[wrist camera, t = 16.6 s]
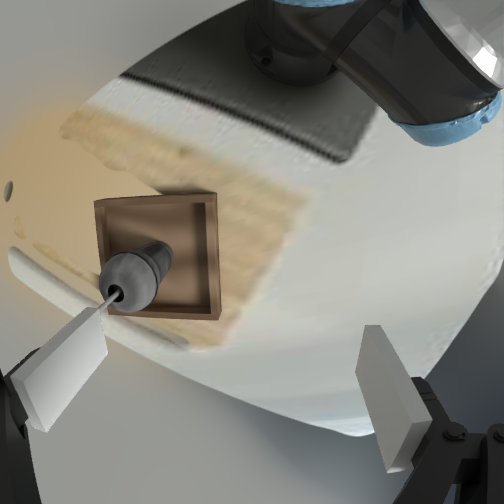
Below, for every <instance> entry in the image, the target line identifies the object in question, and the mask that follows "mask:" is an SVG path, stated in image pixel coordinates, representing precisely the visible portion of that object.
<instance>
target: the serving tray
mask: <svg viewBox="0 0 504 504" xmlns="http://www.w3.org/2000/svg"><path fill="white" fill-rule="evenodd" d="M94 208H95V220H96V231H97V240H98V248H99V257H100V264H101V271H102V269H103V267H104V265H105V264H106V263H107V261H108V260H109V259H110V258H111V257H112V256H113V255H114V254H117V253H119V252H124V251H132V250H134V249H137V248H139V247H142V246H144V245H147V244H149V243H152V242H156V241H162V242H165V243H167V244H168V245H169V246H170V247H171V248H172V250H173V253H174V261H173V263H172V265H171V267H170V269H169V271H168V272H167V274H166V275H165V277H164V279H163V280H162V282H161V283H160V285H159V288H158V291H157V295H156V297H155V299H154V301H153V302H152V303H151V304H150V305H148V306H147V307H145V308H143V309H142V310H139V311H136V312H132V313H126V312H120V311H117V310H115V309H113V308H112V307H111V306H109V305H108V306H107V308H108V313H109V315H122V316H136V317H151V318H169V319H191V320H219V317H220V314H221V311H222V309H221V290H220V269H219V245H218V218H217V193H198V194H173V195H153V196H136V197H120V198H107V199H101V200H96V201H94Z"/></svg>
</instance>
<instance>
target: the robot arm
mask: <svg viewBox="0 0 504 504" xmlns="http://www.w3.org/2000/svg"><path fill="white" fill-rule="evenodd" d="M254 7H255V10H254V11H253V13H252V14H251V16H250V17H249V19H248V22H247V25H246V29H245V41H246V46H247V50H248V53H249V55H250V57H251V59H252V61H253V62H254V64H255V65H256V66H257V67H258V68H259V69H260V70H261V71H262V72H263V73H265V74H266V75H268V76H269V77H271V78H273V79H275V80H277V81H279V82H282V83H285V84H290V85H297V86H308V85H314V84H318V83H321V82H324V81H326V80H328V79H330V78H332V77H333V76H334V75H336V74H337V73H338V72H339V71H341V72H342V73H344V74H345V75H346V76H347V77H348V78H349V79H351V80H352V81H353V82H354V83H355V84H356V85H357V86H358V87H360V88H361V89H362V90H363V91H364V92H365V93H366V94H367V95H368V96H369V97H371V98H372V99H373V100H374V101H375V102H376V103H377V104H378V105H379V106H380V107H381V108H382V109H383V110H384V111H385V112H386V113H387V114H388V117H389V118H390V120H391V121H392V122H393V123H395V124H396V125H398V126H400V127H401V128H402V129H403V130H404V131H405V132H406V133H407V134H408V135H409V136H410V137H411V138H412V139H414V140H415V141H417V142H418V143H420V144H423V145H425V146H431V147H438V146H445V145H449V144H453V143H456V142H459V141H461V140H463V139H465V138H467V137H469V136H471V135H473V134H474V133H476V132H477V131H479V130H480V129H481V125H482V124H485V123H488V122H490V121H491V120H492V119H493V118H494V117H495V115H496V114H497V112H498V111H499V109H500V107H501V101H502V97H501V94H500V90H501V89H503V88H504V0H254ZM107 354H108V351H107V346H106V342H105V337H104V332H103V327H102V321H101V316H100V310H99V308H91V307H87V308H86V309H84V310H83V311H82V312H81V313H80V314H79V315H77V316H76V317H75V318H74V319H73V320H72V321H71V322H69V323H68V324H67V325H66V326H65V327H64V328H62V329H61V330H60V331H59V332H58V333H57V334H56V335H55V336H53V337H52V338H51V339H50V340H49V341H48V342H47V343H46V344H44V345H43V346H42V347H40V348H38V349H36V350H34V351H32V352H30V353H29V354H28V355H27V356H26V357H25V359H23V360H21V362H20V364H19V363H18V364H17V365H16V366H15V367H14V368H13V369H12V370H11V371H10V372H8V373H7V375H5V376H4V377H3V375H2V372H1V370H0V504H42V503H41V499H40V495H39V491H38V487H37V483H36V478H35V473H34V468H33V462H32V457H31V451H30V444H29V439H28V430H27V427H26V424H25V421H26V420H27V419H28V418H29V420H30V422H31V424H32V426H33V428H36V429H38V430H41V431H43V432H45V433H47V432H48V430H49V429H50V428H51V426H52V425H53V424H54V422H55V421H56V420H57V418H58V417H59V416H60V414H61V413H62V412H63V410H64V409H65V408H66V406H67V405H68V404H69V403H70V401H71V400H72V399H73V397H74V396H75V395H76V393H77V392H78V391H79V389H80V388H81V387H82V386H83V384H84V383H85V382H86V381H87V379H88V378H89V377H90V375H91V374H92V373H93V372H94V370H95V369H96V368H97V367H98V365H99V364H100V363H101V362H102V360H103V359H104V358H105V357H106V355H107ZM355 373H356V376H357V379H358V382H359V385H360V388H361V391H362V394H363V397H364V400H365V403H366V406H367V409H368V412H369V415H370V418H371V421H372V425H373V428H374V431H375V434H376V437H377V441H378V444H379V447H380V451H381V454H382V457H383V461H384V464H385V468H386V471H387V473H391V472H397V471H403V470H406V469H407V467H408V466H409V464H410V462H411V461H412V464H413V466H414V470H413V472H412V473H411V475H410V476H409V478H408V479H407V481H406V483H405V485H404V487H403V488H402V490H401V492H400V493H399V494H398V496H397V498H396V499H395V501H394V502H393V504H443V502H444V500H445V498H446V496H447V494H448V491H449V489H450V487H451V485H452V484H456V493H455V500H454V504H504V424H501V423H500V424H494V425H491V426H490V428H489V429H488V430H487V432H486V433H485V434H478V433H468V431H467V429H466V428H464V426H463V425H461V424H459V423H456V422H451V421H450V419H449V417H448V415H447V414H446V412H445V410H444V408H443V407H442V405H441V403H440V402H439V400H437V396H436V395H435V393H433V390H432V388H431V386H430V385H429V383H428V382H426V381H425V380H424V379H423V378H421V377H412V378H410V376H409V375H408V373H407V371H406V369H405V367H404V366H403V364H402V362H401V360H400V359H399V357H398V355H397V353H396V352H395V350H394V348H393V346H392V345H391V343H390V341H389V339H388V338H387V336H386V334H385V333H384V331H383V329H382V328H381V326H380V325H365V328H364V333H363V338H362V343H361V348H360V353H359V357H358V362H357V366H356V371H355Z"/></svg>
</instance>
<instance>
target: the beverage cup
mask: <svg viewBox="0 0 504 504" xmlns="http://www.w3.org/2000/svg"><path fill="white" fill-rule="evenodd" d="M173 261H174V253H173V250H172V248H171V247H170V246H169V245H168V244H167V243H165V242H162V241H156V242H152V243H149V244H147V245H144V246H142V247H139V248H137V249H134V250H132V251H124V252H119V253H117V254H114V255H113V256H112V257H111V258H110V259H109V260H108V261H107V263H106V264H105V265H104V267H103V269H102V271H101V273H100V279H99V287H100V292H101V294H102V296H103V299H104V300H105V302H104V303H103V304H102V305H101V306H100V307H98V308H99V310H100V313H101V312H102V311H103V310H104V309H105V308H106V307H107V306H108V305H109V306H111V307H112V308H113V309H115V310H117V311H120V312H126V313H132V312H136V311H139V310H142V309H143V308H145V307H147V306H148V305H150V304H151V303H152V302H153V301H154V299H155V297H156V295H157V291H158V288H159V285H160V283H161V282H162V280H163V279H164V277H165V275H166V274H167V272H168V271H169V269H170V267H171V265H172V263H173Z"/></svg>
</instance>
